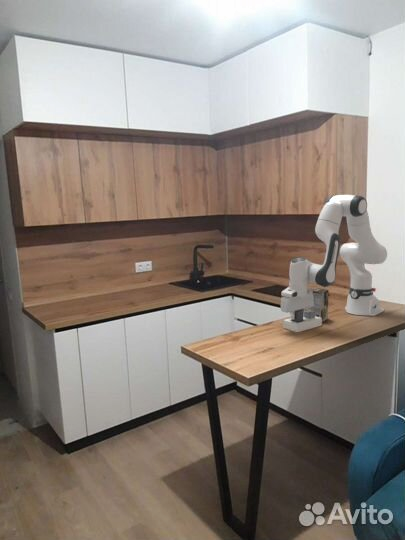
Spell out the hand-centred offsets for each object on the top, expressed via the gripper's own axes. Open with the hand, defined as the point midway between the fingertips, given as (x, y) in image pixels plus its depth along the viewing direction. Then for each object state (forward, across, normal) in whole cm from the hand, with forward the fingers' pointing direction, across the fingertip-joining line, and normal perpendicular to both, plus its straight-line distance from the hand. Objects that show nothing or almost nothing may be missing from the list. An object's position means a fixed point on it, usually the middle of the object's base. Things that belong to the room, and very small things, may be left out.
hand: (297, 318), depth 203 cm
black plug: (+3, 0, 0) cm, 3 cm away
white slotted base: (+5, -4, 0) cm, 6 cm away
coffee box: (+5, -20, -3) cm, 21 cm away
